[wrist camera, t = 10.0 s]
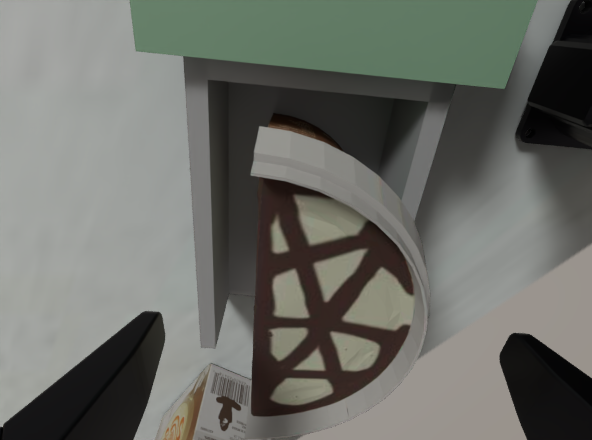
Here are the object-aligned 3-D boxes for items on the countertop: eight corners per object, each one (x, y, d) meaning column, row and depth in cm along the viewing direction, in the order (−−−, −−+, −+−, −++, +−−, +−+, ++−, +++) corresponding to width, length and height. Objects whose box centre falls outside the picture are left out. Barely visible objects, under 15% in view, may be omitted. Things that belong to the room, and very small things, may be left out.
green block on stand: (485, -98, 14) (600, -167, 9) (375, 298, 24) (397, 375, 19) (177, -137, 13) (101, -237, 8) (200, 285, 24) (173, 361, 18)
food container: (358, 289, 23) (395, 453, 14) (264, 283, 23) (244, 446, 14) (402, 92, 17) (516, 172, 8) (274, 80, 17) (250, 150, 8)
